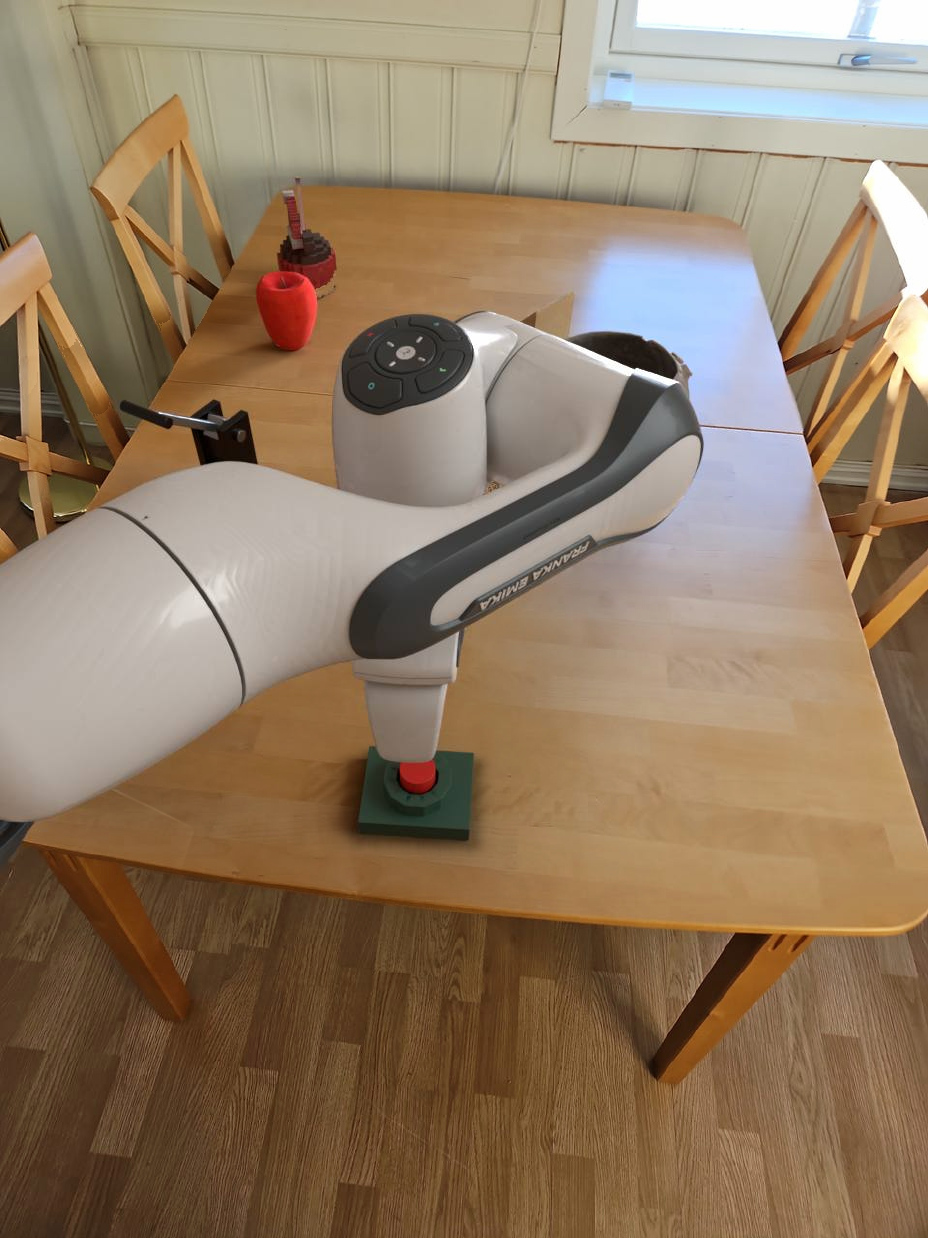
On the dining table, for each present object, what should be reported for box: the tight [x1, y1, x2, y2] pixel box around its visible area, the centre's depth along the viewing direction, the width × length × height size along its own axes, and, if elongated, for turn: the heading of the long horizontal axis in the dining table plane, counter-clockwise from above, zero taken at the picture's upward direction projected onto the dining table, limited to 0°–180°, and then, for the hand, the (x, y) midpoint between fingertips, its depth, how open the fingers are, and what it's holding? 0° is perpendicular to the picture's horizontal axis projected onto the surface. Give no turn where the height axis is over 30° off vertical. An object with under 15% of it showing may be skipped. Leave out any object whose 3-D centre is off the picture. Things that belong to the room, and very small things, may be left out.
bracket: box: [189, 398, 259, 466], centre depth 98 cm, size 12×9×14 cm
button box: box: [357, 745, 475, 842], centre depth 76 cm, size 10×8×4 cm
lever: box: [119, 399, 229, 440], centre depth 89 cm, size 14×6×2 cm
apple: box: [255, 270, 318, 351], centre depth 125 cm, size 9×9×11 cm
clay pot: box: [564, 330, 693, 400], centre depth 107 cm, size 21×21×15 cm
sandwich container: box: [519, 290, 576, 340], centre depth 119 cm, size 9×15×15 cm, turn 47°
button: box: [400, 760, 435, 794], centre depth 74 cm, size 3×3×2 cm
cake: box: [276, 175, 339, 298], centre depth 134 cm, size 11×9×18 cm
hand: (422, 685), depth 65 cm, fingers open, 3 cm apart
